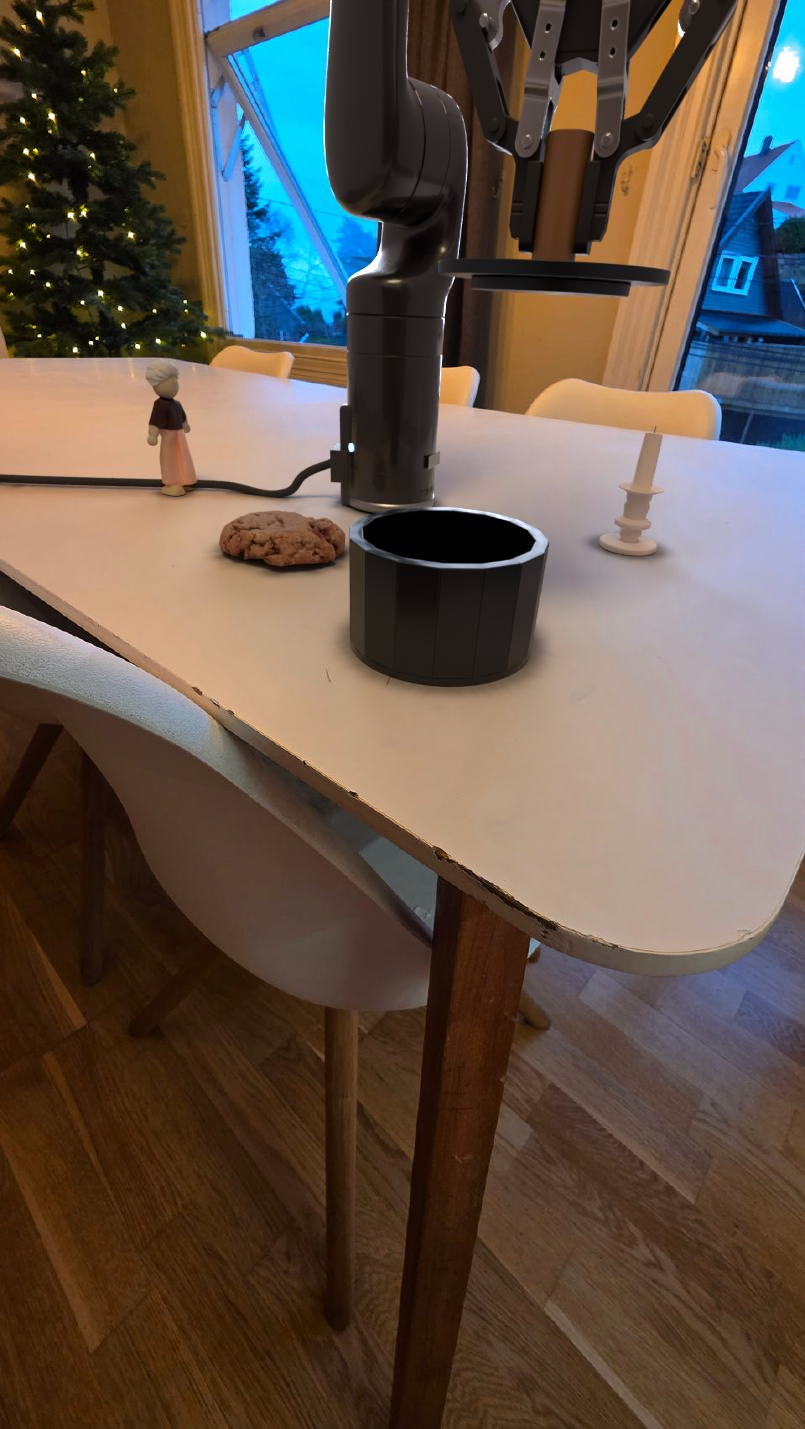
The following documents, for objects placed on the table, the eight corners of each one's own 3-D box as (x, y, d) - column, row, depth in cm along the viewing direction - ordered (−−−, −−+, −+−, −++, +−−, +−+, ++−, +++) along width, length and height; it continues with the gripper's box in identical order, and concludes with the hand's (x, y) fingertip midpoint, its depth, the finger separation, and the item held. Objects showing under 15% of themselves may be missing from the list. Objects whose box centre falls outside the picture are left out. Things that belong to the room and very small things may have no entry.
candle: (606, 534, 62) (632, 419, 56) (661, 545, 59) (693, 426, 54) (591, 548, 58) (617, 426, 52) (649, 560, 56) (682, 433, 50)
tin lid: (406, 284, 32) (414, 104, 28) (467, 291, 42) (479, 158, 38) (665, 296, 29) (711, 95, 25) (664, 300, 39) (697, 157, 35)
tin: (320, 664, 37) (315, 549, 33) (385, 595, 47) (388, 498, 43) (512, 702, 34) (531, 582, 31) (541, 621, 44) (559, 520, 40)
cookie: (227, 534, 57) (224, 500, 55) (344, 535, 58) (343, 502, 57) (211, 573, 49) (206, 535, 47) (347, 573, 50) (346, 536, 48)
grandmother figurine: (187, 499, 66) (168, 363, 59) (151, 497, 66) (127, 361, 59) (207, 482, 73) (192, 357, 66) (174, 480, 73) (155, 355, 66)
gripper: (808, -250, 26) (685, 263, 36) (482, -200, 29) (450, 254, 39) (851, -417, 20) (689, 252, 30) (437, -329, 24) (412, 244, 33)
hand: (553, 251), depth 34 cm, fingers closed on tin lid, 2 cm apart
